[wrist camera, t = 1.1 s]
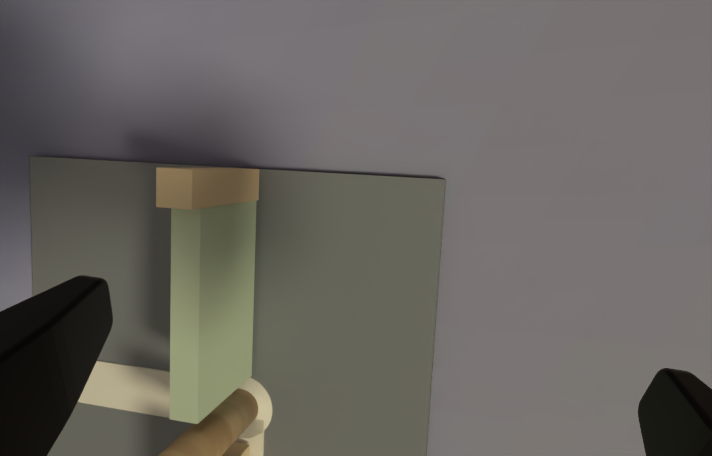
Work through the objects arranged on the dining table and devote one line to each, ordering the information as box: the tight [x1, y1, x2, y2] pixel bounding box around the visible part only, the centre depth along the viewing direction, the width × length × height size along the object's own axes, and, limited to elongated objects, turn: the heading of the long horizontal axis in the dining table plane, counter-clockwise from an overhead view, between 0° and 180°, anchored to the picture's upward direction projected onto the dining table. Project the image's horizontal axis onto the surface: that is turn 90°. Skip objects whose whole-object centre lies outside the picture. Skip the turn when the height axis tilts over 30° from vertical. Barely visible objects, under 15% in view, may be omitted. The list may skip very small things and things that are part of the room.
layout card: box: [30, 156, 446, 456], centre depth 27 cm, size 23×21×1 cm
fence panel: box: [156, 168, 259, 424], centre depth 22 cm, size 10×1×6 cm, turn 178°
